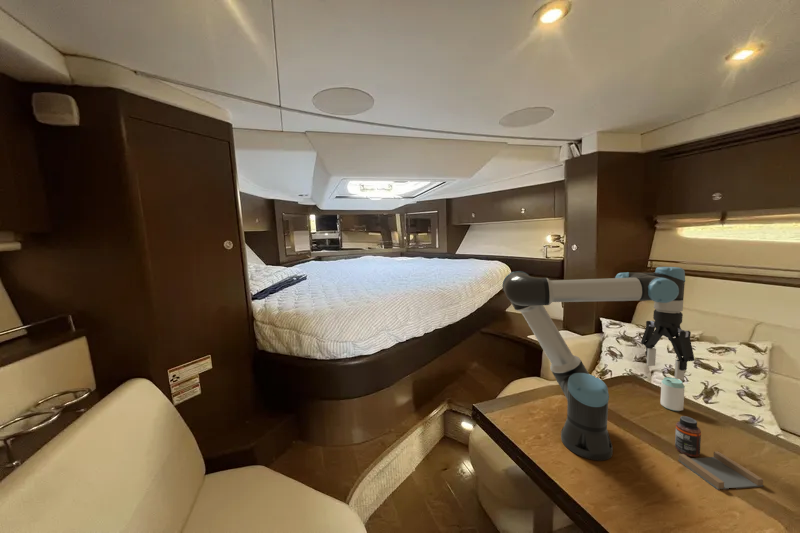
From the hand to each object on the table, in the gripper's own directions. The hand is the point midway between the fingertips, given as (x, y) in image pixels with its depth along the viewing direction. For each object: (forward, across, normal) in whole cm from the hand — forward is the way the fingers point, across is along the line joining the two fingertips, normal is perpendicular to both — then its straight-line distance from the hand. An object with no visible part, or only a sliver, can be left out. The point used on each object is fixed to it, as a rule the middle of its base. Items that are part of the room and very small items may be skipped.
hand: (664, 371), depth 103 cm
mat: (+24, -18, 0) cm, 30 cm away
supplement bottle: (+24, -9, 0) cm, 26 cm away
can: (+24, +15, -20) cm, 34 cm away
